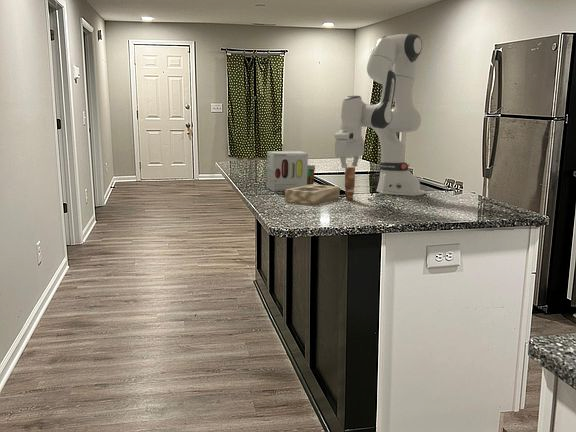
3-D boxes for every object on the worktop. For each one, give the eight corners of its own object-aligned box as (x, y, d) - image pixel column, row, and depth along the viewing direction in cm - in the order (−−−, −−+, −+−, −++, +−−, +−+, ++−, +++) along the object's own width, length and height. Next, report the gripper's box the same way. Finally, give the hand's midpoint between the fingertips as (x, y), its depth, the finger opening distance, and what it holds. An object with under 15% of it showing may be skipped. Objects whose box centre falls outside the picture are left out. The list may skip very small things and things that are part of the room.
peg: (355, 199, 254) (356, 167, 251) (351, 200, 251) (352, 168, 248) (347, 198, 256) (348, 166, 254) (342, 199, 253) (343, 167, 250)
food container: (293, 182, 309) (293, 163, 307) (304, 181, 311) (304, 163, 309) (304, 185, 298) (304, 165, 296) (314, 184, 300) (315, 165, 298)
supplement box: (272, 191, 276) (273, 153, 272) (266, 187, 288) (266, 151, 285) (307, 190, 280) (308, 152, 277) (300, 186, 293) (300, 150, 290)
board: (339, 197, 258) (339, 186, 257) (313, 204, 240) (313, 192, 239) (312, 195, 266) (312, 183, 265) (285, 201, 248) (285, 189, 247)
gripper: (355, 134, 258) (354, 165, 261) (332, 134, 242) (331, 168, 244) (368, 134, 255) (366, 166, 257) (346, 135, 238) (344, 169, 240)
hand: (349, 167), depth 250 cm, fingers open, 8 cm apart
